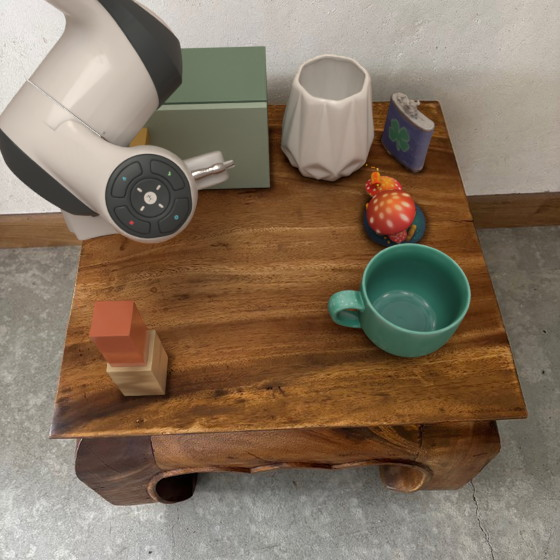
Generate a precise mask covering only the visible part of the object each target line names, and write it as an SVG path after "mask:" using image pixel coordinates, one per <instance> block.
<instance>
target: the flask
mask: <svg viewBox="0 0 560 560" xmlns="http://www.w3.org/2000/svg"><path fill="white" fill-rule="evenodd" d="M420 105H421V102H420V100H419V99H416V101H415V99H409V97H408V95H407V94H405V93H404V92H401V91H396V92H394V93H393V94H391V95H390V99H389V104H388V108H387V114H386V117H385V121H384V127H383V131H382V136H381V140H380V141H381V144H382V146H383V147H384V149H385V150H386V151H387V153H388V154H389V155H390V156H391V157H392V158H394V159H395V160H396V161H397V162H398V164H400V165H401V166H403V167H404V168H405V169H406V170H408V171H410V172H412V173H419V172H420V171H422V170H423V168H424V164H425V162H426V161H425V160H426V157H427V153H428V150H429V146H430V143H431V140H432V136H433V134H434V131H435V128H436V124H435V122H434V121H433V120H432V119H430V118H429V117H427V116H426V115H425V114H423V113H422V112H421V111H420V110H419V109H418V107H419V106H420Z"/></svg>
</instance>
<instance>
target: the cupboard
mask: <svg viewBox="0 0 560 560" xmlns="http://www.w3.org/2000/svg"><path fill="white" fill-rule="evenodd" d="M266 47H267V46H266V45H258V46H257V45H255V46H220V47H216V46H215V47H183V48H182V47H181V52H182V67H183V72H182V84H181V85H180V86H179V87H178V89H177V90H176V91H175V92H174V93H173V94H172V95H171V96H170V97H169V98H168V99H167V100H166V101H165V103H164V104H163V105H180V104H217V103H253V102H267V123H268V124H269V105H268V79H267V78H268V77H267V52H266V51H267V50H266ZM269 128H270V127H269V125H268V148H269V149H270V131H269ZM270 166H271V165H269V173H270V172H271V170H270ZM270 174H271V173H270Z"/></svg>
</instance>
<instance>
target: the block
mask: <svg viewBox="0 0 560 560" xmlns="http://www.w3.org/2000/svg"><path fill="white" fill-rule="evenodd" d="M92 310H93V311H92V316H91V322H90V328H89V333H88V337H89V338H90V340H91V342H92V343H93V344H94V345H95V347H96V348H97V349H98V351H99V353H100V354H101V355H102V356H103V359H104V360H105V361H106V362H108V363H109V365H110V366H111V367H133V366H147V361H148V352H149V342H150V332H149V330H150V329H149V328H148V326H147V324H146V323H145V320H144V318H143V316H142V314H141V313H140V310H139V308H138V306H137V304H136V302H135V301H134V300H133V299H132V300H131V299H129V300H126V299H125V300H96V301H94V305H93V309H92Z"/></svg>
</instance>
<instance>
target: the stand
mask: <svg viewBox="0 0 560 560" xmlns="http://www.w3.org/2000/svg"><path fill="white" fill-rule="evenodd" d="M148 330H149V332H150V342H149V352H148V361H147V366H133V367H111V366H110V365H109V363H108V362H107V361H106V362H107V364H106V370H105V372H106V373H107V375H108V376H109V377H110V379H111V380H112V382H113V383H114V384H115V386H116V387H117V388H118V389H119V391H120V392H121V393H122V395H123V396H124V397H134V396H135V397H136V396H137V397H138V396H139V397H140V396H164V395H166V386H167V376H168V363H169V356H168V354H167V352H166V350H165V348H164V346H163V344H162V341H161V340H160V337H159V335H158V333H157V331H156V329H148Z"/></svg>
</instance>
